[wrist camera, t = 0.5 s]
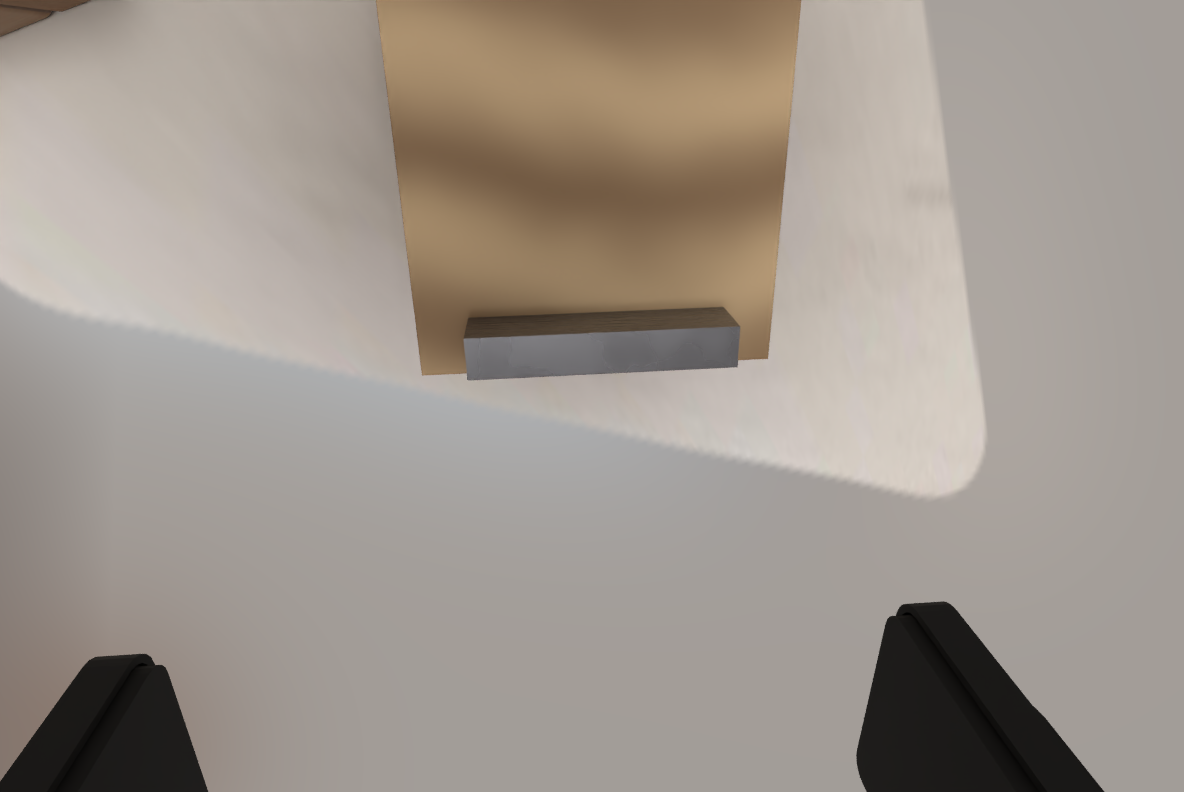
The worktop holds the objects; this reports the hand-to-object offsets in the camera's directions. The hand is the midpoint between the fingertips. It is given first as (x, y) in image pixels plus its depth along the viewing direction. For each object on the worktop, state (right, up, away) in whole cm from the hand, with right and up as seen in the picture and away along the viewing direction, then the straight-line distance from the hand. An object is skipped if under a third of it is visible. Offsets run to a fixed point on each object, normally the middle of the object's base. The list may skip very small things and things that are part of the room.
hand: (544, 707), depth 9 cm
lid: (+1, +13, +17) cm, 21 cm away
